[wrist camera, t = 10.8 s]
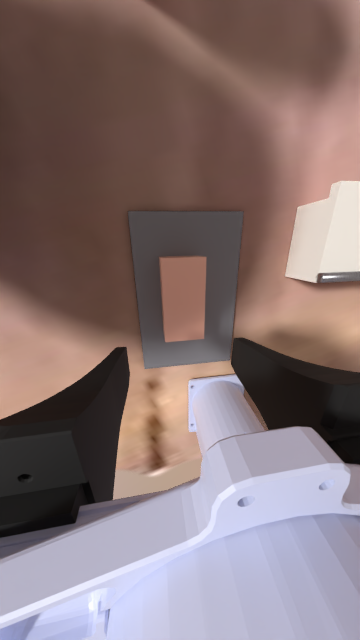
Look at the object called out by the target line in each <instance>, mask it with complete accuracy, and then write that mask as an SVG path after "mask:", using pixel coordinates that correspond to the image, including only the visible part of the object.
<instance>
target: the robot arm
mask: <svg viewBox="0 0 360 640" xmlns="http://www.w3.org/2000/svg"><path fill="white" fill-rule="evenodd" d="M231 365H232V367H233V369H234V371H235V373H236V374H233V375H225V376H216V377H207V378H198V379H191V380H189V382H188V419H189V431H190V432H195V431H196V434H197V438H198V442H199V446H200V450H201V454H202V458H203V460H202V463H201V476H200V477H198V478H196V479H193V480H191V481H188V482H186V483H183V484H181V485H178V486H176V487H173V488H171V489H168V490H165V491H159V492H154V493H149V494H144V495H138V496H133V497H127V498H121V499H116V500H113V490H114V489H113V488H114V479H115V468H116V458H117V449H118V440H119V432H120V425H121V419H122V415H123V410H124V406H125V401H126V397H127V392H128V388H129V377H130V371H129V364H128V356H127V348H126V347H117V348H115V349H114V350H113V351H112V352H111V353H110V354H109V355H108V356H107V357H106V358H105V359H104V360H103V361H102V362H101V363H100V364H99V365H97V366H96V367H95V368H94V369H93V370H91V371H90V372H89V373H88V374H87V375H85V376H84V377H83V378H81V379H80V380H78V381H77V382H75V383H74V384H72V385H71V386H69V387H67V388H66V389H64V390H62V391H61V392H59V393H57V394H56V395H54V396H52V397H50V398H48V399H46V400H44V401H42V402H40V403H38V404H36V405H34V406H32V407H30V408H27V409H25V410H23V411H20V412H18V413H16V414H13V415H11V416H8V417H6V418H3V419H1V420H0V640H360V373H358V372H350V371H344V370H339V369H333V368H328V367H324V366H320V365H316V364H311V363H308V362H304V361H301V360H298V359H295V358H292V357H289V356H286V355H283V354H281V353H278V352H276V351H273V350H271V349H268V348H266V347H264V346H262V345H259V344H257V343H255V342H253V341H250V340H248V339H245V338H234V342H233V351H232V360H231ZM192 385H194V386H192ZM191 386H192V387H191ZM244 388H245V389H246V391H247V392H248V394H249V395H250V397H251V398H252V400H253V401H254V403H255V404H256V406H257V408H258V409H259V411H260V413H261V415H262V417H263V419H264V421H265V423H266V425H267V427H268V429H269V430H267V431H265V430H264V428H263V426H262V425H261V423H260V422H259V420H258V418H257V417H256V415H255V414H254V412H253V410H252V409H251V407H250V406H249V404H248V402H247V401H246V399H245V398H244V396H243V395H244Z"/></svg>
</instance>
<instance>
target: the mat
mask: <svg viewBox="0 0 360 640" xmlns="http://www.w3.org/2000/svg"><path fill="white" fill-rule="evenodd" d="M243 213H244V212H240V211H128V218H129V227H130V236H131V246H132V255H133V264H134V274H135V283H136V292H137V302H138V311H139V321H140V330H141V339H142V349H143V358H144V367H145V369H149V368H159V367H168V366H178V365H188V364H197V363H207V362H217V361H226V360H230V353H231V342H232V332H233V321H234V310H235V299H236V289H237V278H238V267H239V256H240V246H241V235H242V224H243ZM167 256H204V257H206V291H205V324H204V339H197V340H186V341H175V342H165V338H164V331H163V316H162V299H161V282H160V265H159V257H167Z"/></svg>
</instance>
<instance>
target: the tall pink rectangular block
mask: <svg viewBox="0 0 360 640" xmlns="http://www.w3.org/2000/svg"><path fill="white" fill-rule="evenodd" d="M159 265H160V282H161V299H162V316H163V331H164V338H165V342H175V341H186V340H197V339H204V324H205V291H206V257H204V256H167V257H159Z"/></svg>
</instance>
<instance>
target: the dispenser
mask: <svg viewBox="0 0 360 640" xmlns="http://www.w3.org/2000/svg"><path fill="white" fill-rule="evenodd" d="M285 276H286V277H290V278H295V279H300V280H304V281H309V282H314V283H328V282H348V281H360V181H339V182H337V183H334V184H332V187H331V191H330V195H329V198H328V199H324V200H321V201H317V202H313V203H310V204H306V205H303V206H299V207H298V208H297V213H296V219H295V224H294V230H293V235H292V241H291V246H290V251H289V257H288V262H287V268H286V273H285Z"/></svg>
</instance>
